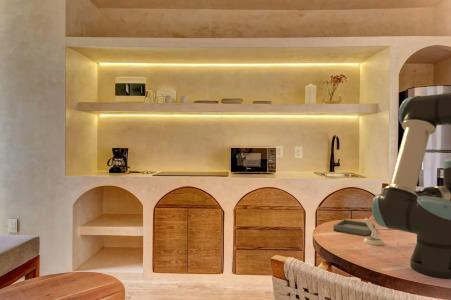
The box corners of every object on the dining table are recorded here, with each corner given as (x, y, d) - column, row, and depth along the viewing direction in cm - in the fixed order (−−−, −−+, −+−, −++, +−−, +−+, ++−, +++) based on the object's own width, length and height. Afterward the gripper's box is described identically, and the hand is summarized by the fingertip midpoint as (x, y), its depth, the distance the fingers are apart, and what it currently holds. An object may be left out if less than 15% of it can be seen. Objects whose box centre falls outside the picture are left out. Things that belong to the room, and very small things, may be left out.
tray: (367, 235, 152) (367, 230, 152) (333, 230, 160) (333, 225, 160) (375, 228, 164) (375, 223, 164) (343, 224, 173) (343, 219, 173)
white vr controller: (352, 225, 149) (366, 217, 148) (369, 250, 145) (383, 242, 144) (352, 225, 142) (367, 217, 141) (370, 252, 138) (386, 243, 137)
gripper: (461, 209, 137) (417, 212, 132) (413, 198, 162) (374, 201, 156) (461, 190, 137) (417, 193, 132) (413, 183, 161) (374, 184, 156)
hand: (394, 197), depth 144 cm, fingers open, 13 cm apart
